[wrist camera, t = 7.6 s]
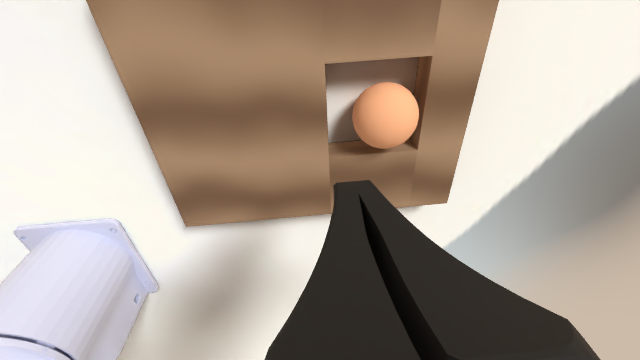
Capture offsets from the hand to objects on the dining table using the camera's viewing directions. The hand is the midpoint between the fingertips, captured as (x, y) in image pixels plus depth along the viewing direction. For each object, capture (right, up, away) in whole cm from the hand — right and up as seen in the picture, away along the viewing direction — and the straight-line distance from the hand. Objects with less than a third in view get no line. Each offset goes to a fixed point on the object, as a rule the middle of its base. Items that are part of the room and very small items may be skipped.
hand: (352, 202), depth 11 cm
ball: (+3, +5, +7) cm, 9 cm away
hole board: (-2, +6, +8) cm, 10 cm away
